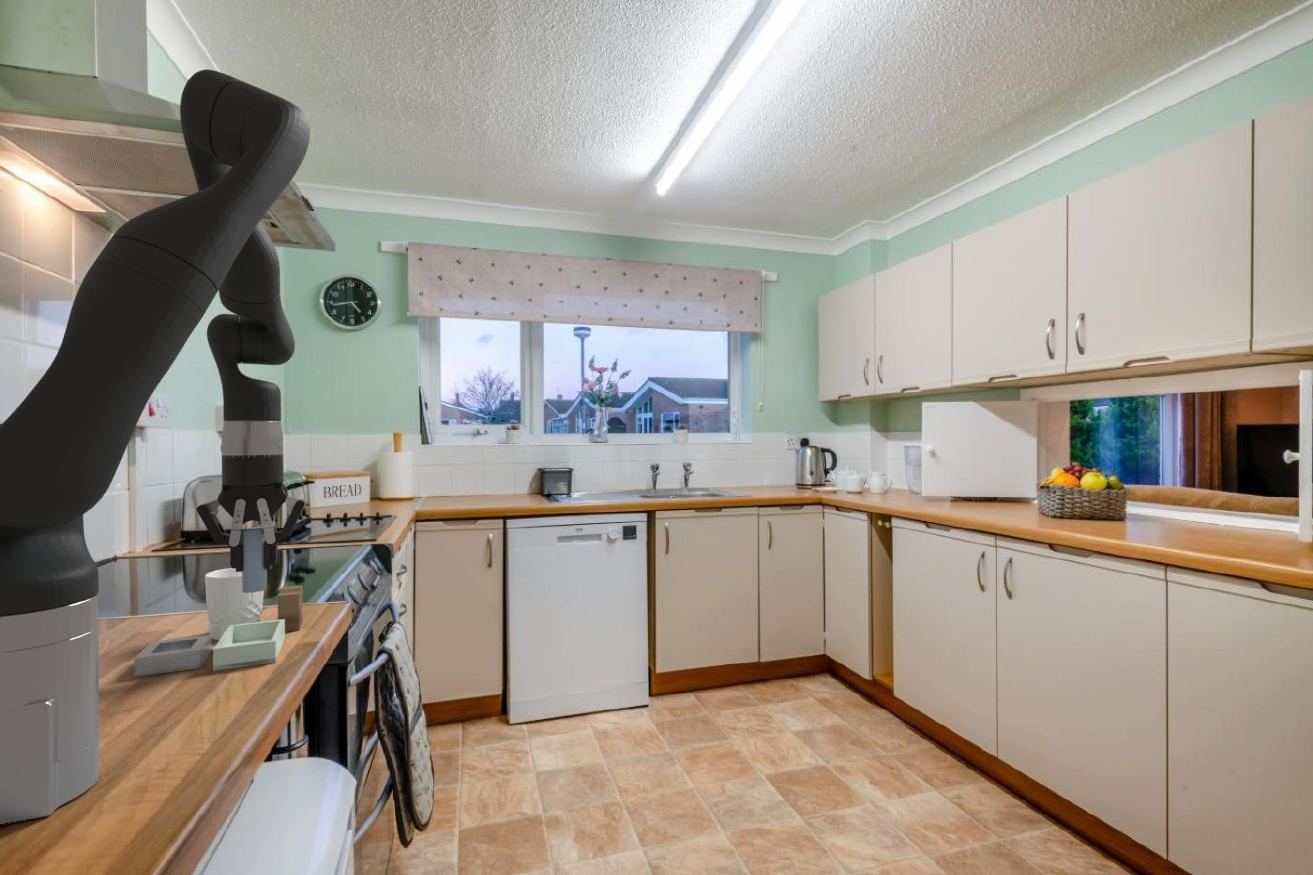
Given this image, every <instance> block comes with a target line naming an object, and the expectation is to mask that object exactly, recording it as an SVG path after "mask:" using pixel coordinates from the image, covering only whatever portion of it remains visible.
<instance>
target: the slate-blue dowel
mask: <svg viewBox="0 0 1313 875" xmlns="http://www.w3.org/2000/svg"><path fill="white" fill-rule="evenodd" d="M265 544H266V539H265V534H264V530H263V528H262V526H260V527H259V526H256V527H247V528H246V527H245V528H244V529H242V592H244V593H252V592H259V591H263V590H264V591H265V590H267V589H268V583H267V582H268V569H266V570H265Z"/></svg>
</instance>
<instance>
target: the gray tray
mask: <svg viewBox="0 0 1313 875" xmlns="http://www.w3.org/2000/svg"><path fill="white" fill-rule="evenodd" d="M211 653H212V638H211V635H209V634H206V635H198V636H197V635H196V636H189V637H180V638H172V639H166V640H165V639H164V640H155V641H151V642H149V643H148V645H146V646H145V648H143V650H141V652H139V653H138V655H137V656H136V657H134V677H135V678H137V677H145V676H153V675H158V674H159V675H161V674H166V673H174V672H181V671H188V670H195V669H200V668H201V667H202V666H203V664H204V663H205V662H206V660H207V658H208V657H209V656H210V654H211Z"/></svg>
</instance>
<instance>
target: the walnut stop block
mask: <svg viewBox="0 0 1313 875" xmlns="http://www.w3.org/2000/svg"><path fill="white" fill-rule="evenodd" d="M303 589H304V588H303V585H292V586H282V587H281V589H280V591H279V593H278V595H277V620H282V619H285V633H288V632H294V631H301V630H300V629H301V627H302V624H303V621H304V612H303V611H304V610H303V608H304V606H303V605H304V604H303V602H304V601H303V600H304V598H303V597H304V596H303V591H304V590H303ZM302 620H303V621H302Z"/></svg>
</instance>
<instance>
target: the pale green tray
mask: <svg viewBox="0 0 1313 875" xmlns="http://www.w3.org/2000/svg"><path fill="white" fill-rule="evenodd" d="M285 639H286V632H285V619H282V620H278V619H275V620H266V621H265V620H264V621H261V622H255V623H247V624H238V625H230V626H229V627H228V629H227V630H226V631H225V633H224V634H223V636H222V637H221V639H220V640H218V642H216V644H215V646H214V647H213V649H212V651H213V653H212V655H213V656H212V657H213V658H212V659H213V660H212V661H213V662H212V663H213V665H212V667H213V668H212V671H213V672H216V671H217V672H218V671H223V670H224V671H225V670H230V669H231V670H232V669H238V668H246V667H252V666H259V665H265V664H273V663H277V660H278V658H279V654H280V652H281V649H282V647H283V644H284V642H285Z"/></svg>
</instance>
